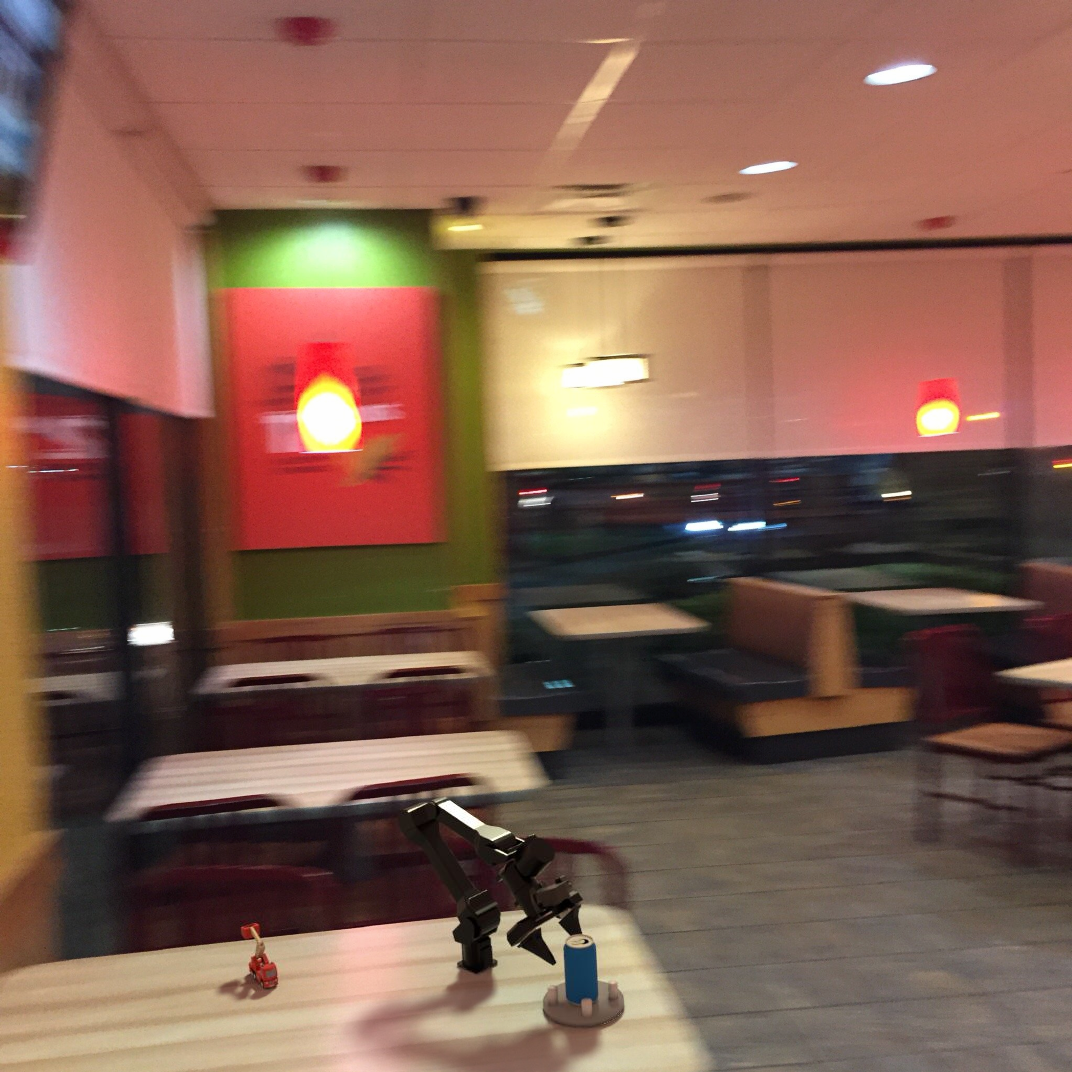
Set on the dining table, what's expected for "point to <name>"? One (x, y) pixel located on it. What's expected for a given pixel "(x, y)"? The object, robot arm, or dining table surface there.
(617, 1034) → the dining table surface
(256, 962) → the toy fire truck
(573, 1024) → the peg stand
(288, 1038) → the dining table surface
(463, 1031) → the dining table surface
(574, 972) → the beverage can
